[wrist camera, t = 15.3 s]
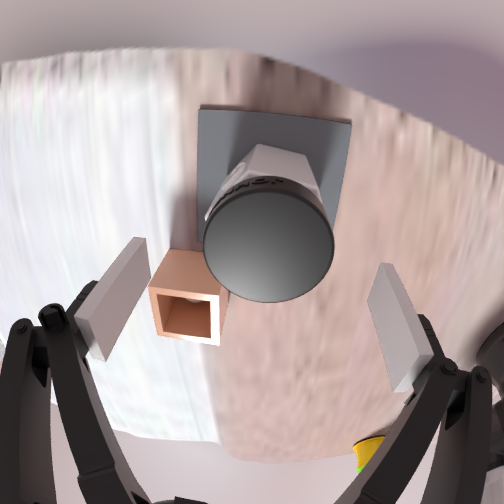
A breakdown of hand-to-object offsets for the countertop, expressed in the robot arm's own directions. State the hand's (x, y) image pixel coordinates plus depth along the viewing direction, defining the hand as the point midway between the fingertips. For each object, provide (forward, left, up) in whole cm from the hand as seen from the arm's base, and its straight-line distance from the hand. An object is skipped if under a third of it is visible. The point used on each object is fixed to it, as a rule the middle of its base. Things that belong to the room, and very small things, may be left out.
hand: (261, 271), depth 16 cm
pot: (+7, +12, -14) cm, 20 cm away
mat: (0, 0, -14) cm, 14 cm away
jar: (0, 0, -14) cm, 14 cm away
